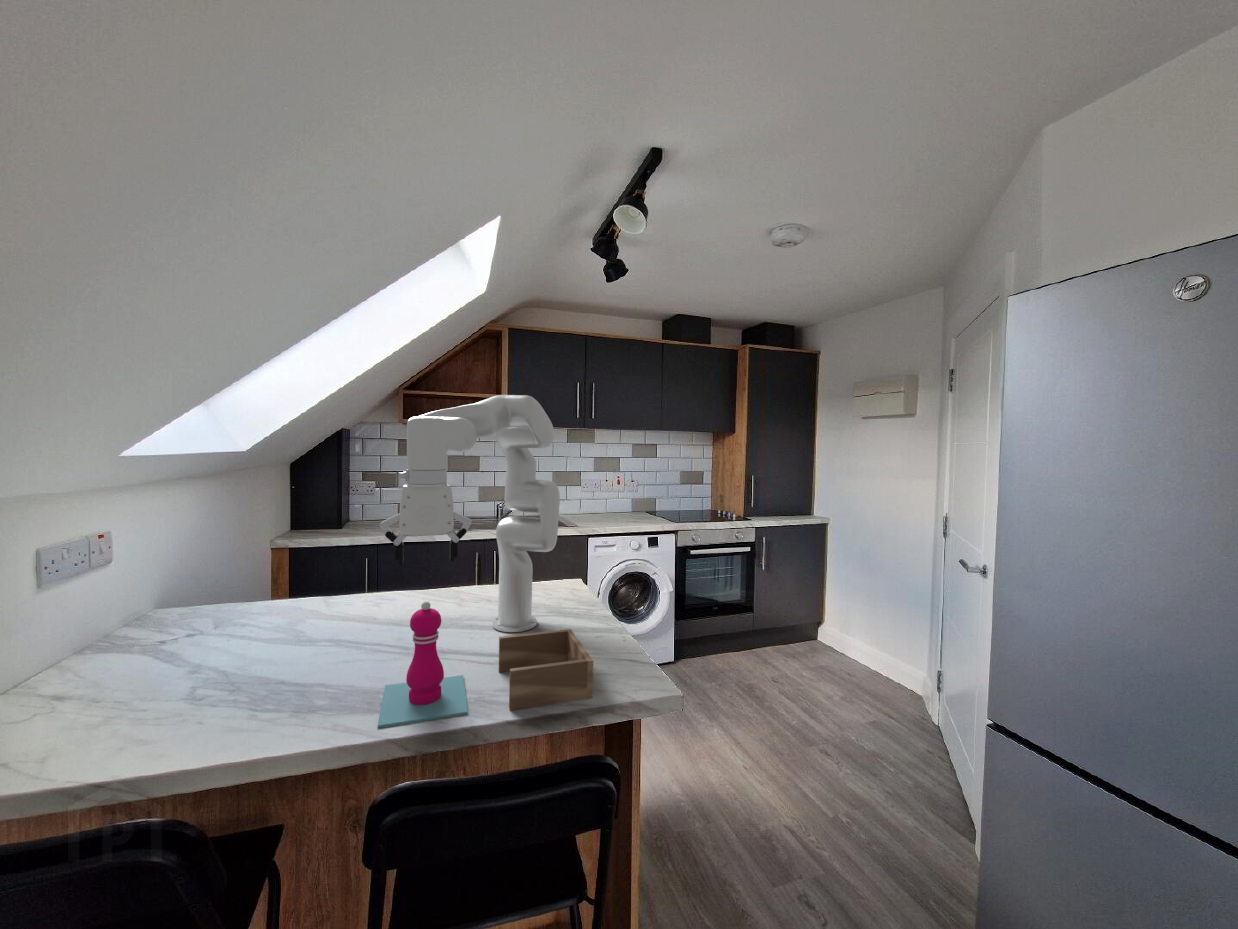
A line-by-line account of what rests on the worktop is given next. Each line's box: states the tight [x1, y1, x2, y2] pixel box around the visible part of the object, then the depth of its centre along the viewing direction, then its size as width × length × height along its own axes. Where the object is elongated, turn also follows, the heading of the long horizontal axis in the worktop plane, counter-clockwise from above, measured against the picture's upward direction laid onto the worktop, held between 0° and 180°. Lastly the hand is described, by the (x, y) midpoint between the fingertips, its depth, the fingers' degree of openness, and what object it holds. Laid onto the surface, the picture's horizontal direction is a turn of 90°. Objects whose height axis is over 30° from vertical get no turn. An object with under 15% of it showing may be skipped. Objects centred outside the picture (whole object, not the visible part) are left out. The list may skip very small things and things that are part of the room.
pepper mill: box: [405, 601, 445, 705], centre depth 103 cm, size 7×7×20 cm
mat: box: [377, 674, 469, 729], centre depth 103 cm, size 16×16×1 cm
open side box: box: [498, 628, 594, 711], centre depth 112 cm, size 18×17×8 cm
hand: (427, 562), depth 102 cm, fingers open, 9 cm apart
